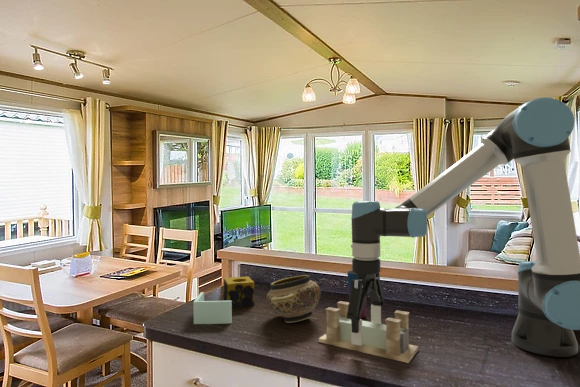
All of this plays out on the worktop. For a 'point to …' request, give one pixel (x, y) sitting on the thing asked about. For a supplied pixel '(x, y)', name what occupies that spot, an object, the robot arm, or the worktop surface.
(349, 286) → the cup
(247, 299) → the yellow patterned cube
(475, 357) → the worktop surface
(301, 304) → the ceramic bowl
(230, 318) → the l-shaped corner panel
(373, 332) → the rail
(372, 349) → the bar on post stand
